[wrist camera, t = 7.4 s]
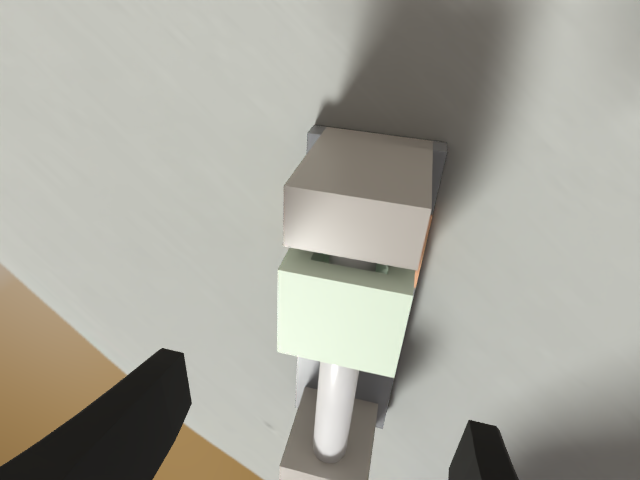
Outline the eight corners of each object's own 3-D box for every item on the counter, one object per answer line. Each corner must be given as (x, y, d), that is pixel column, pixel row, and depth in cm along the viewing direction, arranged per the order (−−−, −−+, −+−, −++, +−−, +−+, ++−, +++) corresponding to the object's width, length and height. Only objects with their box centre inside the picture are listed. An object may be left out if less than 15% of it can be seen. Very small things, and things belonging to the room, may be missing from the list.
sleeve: (401, 300, 17) (394, 378, 14) (306, 281, 18) (277, 351, 14) (418, 226, 15) (413, 295, 12) (310, 208, 16) (277, 269, 13)
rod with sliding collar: (384, 413, 24) (372, 515, 20) (299, 393, 25) (269, 486, 20) (446, 142, 15) (451, 212, 11) (314, 125, 16) (266, 182, 12)
